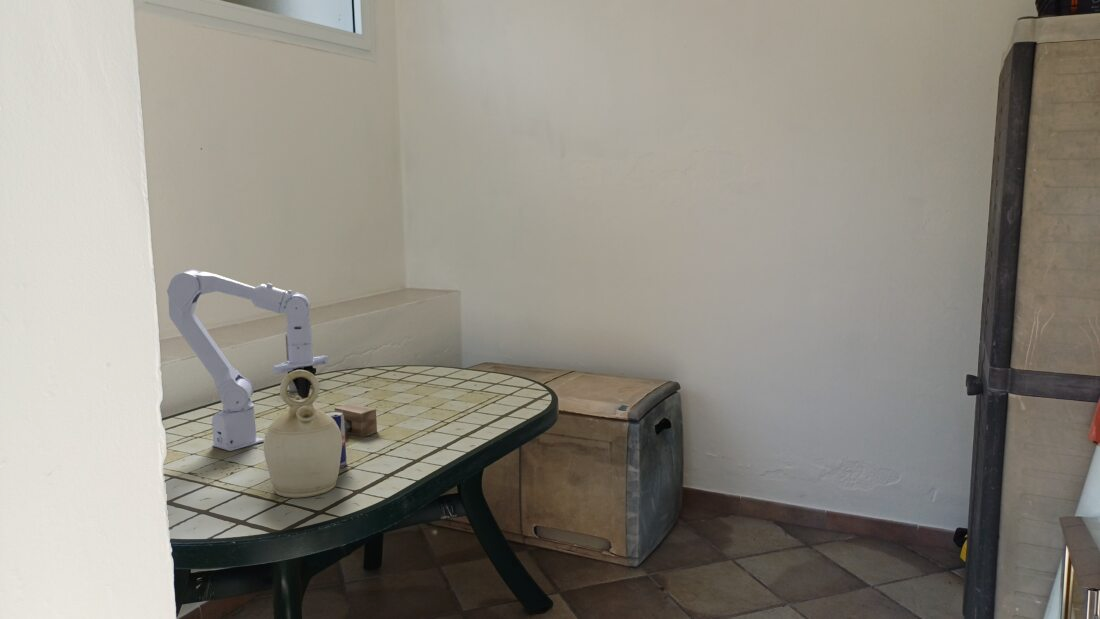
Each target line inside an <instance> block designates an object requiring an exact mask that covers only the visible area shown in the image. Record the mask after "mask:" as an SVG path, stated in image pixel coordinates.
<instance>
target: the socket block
mask: <svg viewBox="0 0 1100 619" xmlns="http://www.w3.org/2000/svg"><path fill="white" fill-rule="evenodd" d="M334 411H340V412H342V413H343V416H344V421H346V422H347V421H352V430H350V431H347V435H348V434H349V435H350V436H351V435H353V436H355V437H359V438H363V437H367V436H369V435H372V434H376V433H377V432H378V423H377V409H376V408H374V407H373V408H372V407H367V406H364V405H363V406H362V405H359V404H353V403H347V404H344V405H340V406H336V407H334Z"/></svg>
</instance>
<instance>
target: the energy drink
mask: <svg viewBox="0 0 1100 619" xmlns="http://www.w3.org/2000/svg"><path fill="white" fill-rule="evenodd" d="M323 412H324V413H326V414H327V415H329V416H331V417H332V418H333V419H334V420H335V422H336V424H337V425H338V427H339V429H340V432H341V436H342V452H341V460H340V467H339V470H340V469H343V468H344V466H345V467H346V465H347V462H348V461H347V449H346V446H347V445H346V438H345V427H344V416H343V413H342V412H340V411H335V410H329V411H323Z"/></svg>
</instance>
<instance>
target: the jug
mask: <svg viewBox="0 0 1100 619" xmlns="http://www.w3.org/2000/svg"><path fill="white" fill-rule="evenodd" d="M299 377H303V378H306V379H308V380H309V381H310V382H311V387H312V389H311V393H309V396H308V397H307V398H301V397H300V396H299V395H296V396H295V397H294V398H292V397H290V396H289V393H288V389H289V384H290V382H291V381H292V380H294V379H296V378H299ZM320 387H321V386H320V383H319V380H318V378H317V377H316V375H313V374H312V373H310V372H308V371H306V370H295V371H293V372H290V373H289V374H288V373H287V375H285V376H284V378H283V379H282V381H281V383H280V385H279V396H280V397H281V400H282V401H283V402H284V403H285V404H286V405H287V406H289V408H288V411H286V412H284V413H282V414H280V415H278V417H277V418H275V419H274V420H273V421H272V422H271V423H270V424H269V426H267V427H268V428H267V431H266V432H265V436H264V438H263V439H264V441H263V454H264V460H265V462H266V467H267V470H268V474H269V477H270V481H271V484H272V486H273V489H274V492H275V494H277V495H278V496H280V497H285V498H290V499H303V498H308V497H316V496H319V495H322V494H326V493H328V492H330V491H331V490H333V489H334V488H335V487H336V485H337V481H338V476H339V473H340V469H339V467H340V460H341V452H342V436H341V432H340V429H339V427H338V425H337V424H336V422H335V420H334V419H333V418H332V417H331V416H329V415H327V414H326V413H324V412H325V411H322V410H320V409H317V408H315V407H314V405H313V404H314V402H315V401H316V400H317V399H318V397H319V395H320V391H321V390H320Z"/></svg>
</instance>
